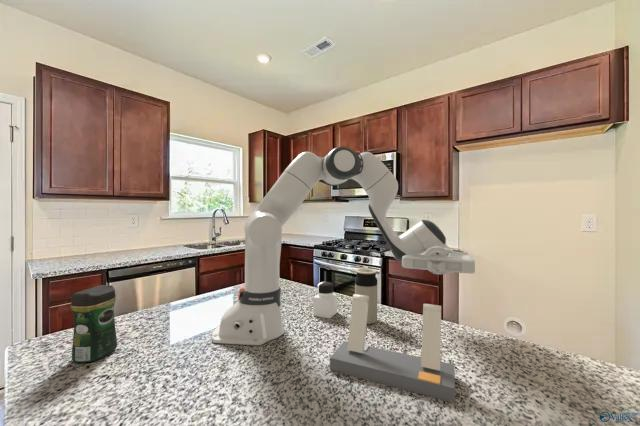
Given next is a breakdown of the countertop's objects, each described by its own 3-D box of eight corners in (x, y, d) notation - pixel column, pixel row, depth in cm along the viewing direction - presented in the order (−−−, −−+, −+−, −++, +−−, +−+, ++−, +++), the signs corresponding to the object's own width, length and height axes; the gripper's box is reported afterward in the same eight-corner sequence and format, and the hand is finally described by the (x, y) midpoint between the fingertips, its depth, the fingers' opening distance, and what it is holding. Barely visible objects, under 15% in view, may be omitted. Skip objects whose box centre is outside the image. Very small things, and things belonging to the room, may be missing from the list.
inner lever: (346, 349, 73) (353, 293, 77) (349, 349, 74) (355, 294, 78) (362, 353, 71) (367, 295, 75) (364, 352, 73) (369, 296, 77)
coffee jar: (97, 345, 83) (97, 282, 82) (122, 347, 82) (122, 283, 82) (64, 363, 73) (63, 292, 73) (91, 365, 72) (90, 293, 72)
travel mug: (366, 326, 96) (367, 273, 96) (350, 319, 102) (350, 270, 102) (381, 320, 101) (382, 270, 101) (365, 314, 107) (365, 267, 107)
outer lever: (420, 366, 65) (423, 303, 69) (421, 365, 67) (423, 303, 71) (439, 370, 63) (441, 305, 67) (440, 369, 65) (441, 305, 69)
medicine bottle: (337, 312, 109) (337, 281, 109) (330, 319, 103) (330, 286, 103) (320, 309, 112) (320, 279, 112) (312, 315, 106) (312, 284, 106)
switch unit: (329, 369, 70) (329, 356, 70) (344, 351, 79) (344, 339, 79) (454, 402, 58) (454, 387, 58) (454, 376, 67) (454, 363, 67)
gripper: (404, 248, 96) (397, 254, 84) (473, 252, 87) (476, 259, 75) (404, 267, 96) (397, 275, 84) (473, 272, 87) (476, 283, 75)
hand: (435, 267), depth 79 cm, fingers closed
